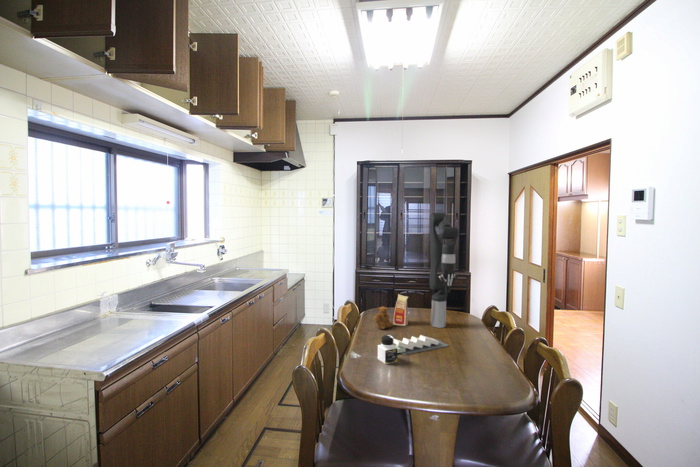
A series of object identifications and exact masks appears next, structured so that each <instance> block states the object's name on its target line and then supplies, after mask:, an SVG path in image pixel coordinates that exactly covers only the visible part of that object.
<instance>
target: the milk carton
mask: <svg viewBox="0 0 700 467" xmlns="http://www.w3.org/2000/svg"><path fill="white" fill-rule="evenodd" d="M408 298H409V296H406V295H402V294H399V293H397V300H396V303H395V307H394V314H393V323H392V325H393V326H394V325H395V326H404V327H405V326H407V325H409V320H408Z"/></svg>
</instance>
